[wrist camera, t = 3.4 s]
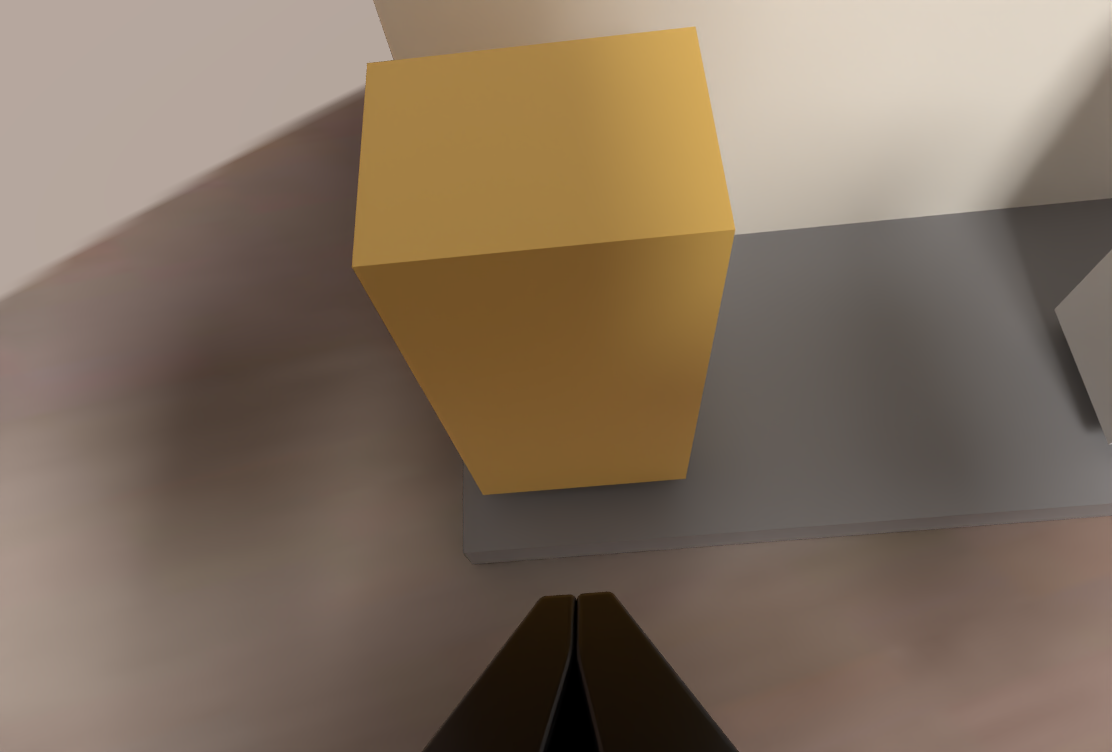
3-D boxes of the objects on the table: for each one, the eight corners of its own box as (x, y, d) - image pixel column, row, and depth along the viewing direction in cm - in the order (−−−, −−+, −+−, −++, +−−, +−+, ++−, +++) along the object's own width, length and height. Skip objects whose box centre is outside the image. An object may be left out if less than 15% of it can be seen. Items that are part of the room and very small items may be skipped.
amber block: (685, 478, 15) (735, 230, 8) (483, 495, 15) (352, 267, 8) (667, 344, 16) (695, 26, 9) (481, 361, 17) (367, 62, 9)
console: (1319, 499, 15) (2754, -25, 5) (472, 564, 16) (194, 234, 6) (1111, 93, 20) (1614, -595, 10) (469, 160, 21) (315, -405, 11)
